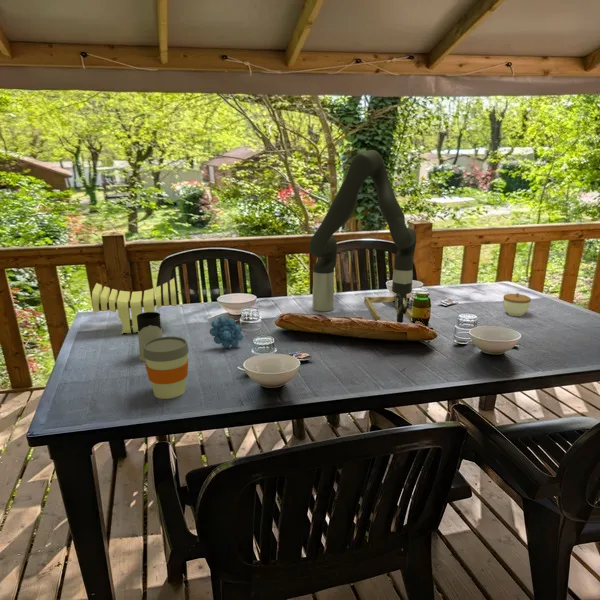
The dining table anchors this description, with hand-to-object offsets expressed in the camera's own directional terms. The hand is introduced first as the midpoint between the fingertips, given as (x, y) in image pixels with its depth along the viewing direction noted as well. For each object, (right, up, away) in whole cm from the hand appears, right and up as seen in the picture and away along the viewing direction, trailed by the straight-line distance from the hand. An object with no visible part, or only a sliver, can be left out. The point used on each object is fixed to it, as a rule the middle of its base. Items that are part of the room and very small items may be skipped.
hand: (399, 322), depth 196 cm
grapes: (-66, -9, -20) cm, 69 cm away
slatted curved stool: (-104, -3, +1) cm, 104 cm away
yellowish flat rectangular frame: (-1, +4, +21) cm, 21 cm away
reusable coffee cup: (-78, -18, -51) cm, 95 cm away
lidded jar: (+53, +3, +17) cm, 56 cm away
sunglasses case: (+5, -5, -6) cm, 9 cm away
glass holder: (-92, -10, -24) cm, 95 cm away
